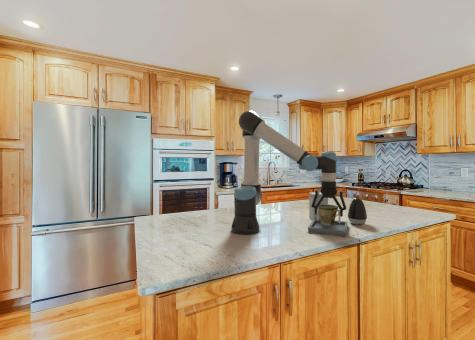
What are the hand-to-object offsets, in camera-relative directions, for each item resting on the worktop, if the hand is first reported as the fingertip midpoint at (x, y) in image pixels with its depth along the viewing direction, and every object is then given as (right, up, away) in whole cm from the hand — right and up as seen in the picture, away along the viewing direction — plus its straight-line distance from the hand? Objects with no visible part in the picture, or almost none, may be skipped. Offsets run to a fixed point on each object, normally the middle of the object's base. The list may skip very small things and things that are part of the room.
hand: (328, 221), depth 132 cm
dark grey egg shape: (+21, -4, +11) cm, 24 cm away
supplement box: (+2, -4, +22) cm, 22 cm away
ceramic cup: (0, -2, 0) cm, 2 cm away
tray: (0, -4, 0) cm, 4 cm away
